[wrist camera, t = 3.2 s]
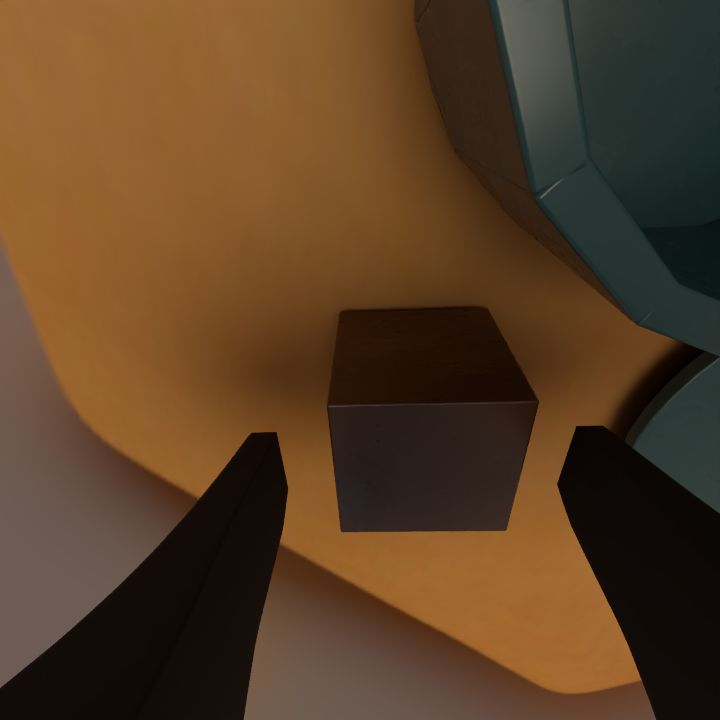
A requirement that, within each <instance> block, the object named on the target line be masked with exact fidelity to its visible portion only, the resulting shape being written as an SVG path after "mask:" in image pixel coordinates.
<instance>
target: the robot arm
mask: <svg viewBox="0 0 720 720" xmlns="http://www.w3.org/2000/svg"><path fill="white" fill-rule="evenodd" d="M557 485H558V488H559V492H560V495H561V498H562V501H563V504H564V507H565V510H566V513H567V515H568V518H569V521H570V524H571V526H572V528H573V531H574V533H575V535H576V537H577V539H578V541H579V543H580V545H581V547H582V550H583V552H584V554H585V556H586V558H587V560H588V562H589V564H590V566H591V568H592V570H593V572H594V574H595V576H596V578H597V580H598V582H599V584H600V586H601V589H602V591H603V593H604V595H605V597H606V599H607V601H608V603H609V605H610V607H611V609H612V611H613V613H614V615H615V617H616V619H617V621H618V623H619V626H620V628H621V630H622V632H623V635H624V637H625V639H626V641H627V644H628V646H629V648H630V651H631V653H632V656H633V659H634V661H635V664H636V666H637V669H638V672H639V674H640V677H641V679H642V682H643V685H644V687H645V690H646V692H647V695H648V698H649V700H650V703H651V706H652V709H653V712H654V714H655V717H656V720H720V513H719V512H717V511H716V510H714V509H713V508H712V507H710V506H709V505H708V504H706V503H705V502H703V501H702V500H701V499H699V498H698V497H697V496H695V495H694V494H692V493H691V492H690V491H688V490H687V489H686V488H684V487H683V486H682V485H680V484H679V483H678V482H676V481H675V480H674V479H673V478H671V477H670V476H669V475H667V474H666V473H665V472H663V471H662V470H661V469H659V468H658V467H657V466H655V465H654V464H653V463H652V462H650V461H649V460H648V459H646V458H645V457H644V456H642V455H641V454H640V453H639V452H637V451H636V450H635V449H633V448H632V447H631V446H629V445H628V444H627V443H626V442H624V441H623V440H622V439H620V438H619V437H618V436H616V435H615V434H614V433H612V432H611V431H609V430H608V429H607V428H605V427H604V426H576V429H575V432H574V435H573V438H572V441H571V444H570V447H569V450H568V453H567V456H566V459H565V462H564V465H563V468H562V471H561V474H560V477H559V480H558V483H557ZM287 494H288V485H287V480H286V475H285V471H284V466H283V461H282V456H281V451H280V447H279V442H278V437H277V432H263V433H251V434H250V435H249V436H248V437H247V439H246V440H245V441H244V443H243V444H242V445H241V447H240V448H239V449H238V451H237V452H236V453H235V455H234V456H233V457H232V459H231V460H230V461H229V463H228V464H227V465H226V467H225V468H224V469H223V470H222V472H221V473H220V474H219V476H218V477H217V478H216V479H215V481H214V482H213V483H212V484H211V486H210V487H209V488H208V489H207V490H206V492H205V493H204V494H203V495H202V497H201V498H200V499H199V500H198V501H197V503H196V504H195V505H194V506H193V507H192V509H191V510H190V511H189V512H188V513H187V514H186V516H185V517H184V518H183V519H182V520H181V521H180V522H179V523H178V525H177V526H176V527H175V528H174V529H173V530H172V531H171V532H170V533H169V535H168V536H167V537H166V538H165V539H164V540H163V541H162V542H161V543H160V545H159V546H158V547H157V548H156V549H155V550H154V551H153V552H152V553H151V554H150V555H149V556H148V557H147V558H146V559H145V560H144V561H143V562H142V563H141V564H140V565H139V567H137V568H136V569H135V570H134V571H133V572H132V573H131V574H130V575H129V576H128V577H127V578H126V579H125V580H124V581H123V582H122V583H121V584H120V585H119V586H118V587H117V588H116V589H115V590H114V591H113V592H112V593H111V594H110V595H108V596H107V597H106V598H105V599H104V600H103V601H102V602H101V603H100V604H99V605H98V606H96V607H95V608H94V609H93V610H92V611H91V612H90V613H89V614H88V615H87V616H86V617H84V618H83V619H82V620H81V621H80V622H79V623H78V624H77V625H76V626H75V627H73V628H72V629H71V630H70V631H69V632H67V634H65V635H64V636H63V637H62V638H61V639H59V640H58V641H57V642H56V643H55V644H53V645H52V646H51V647H50V648H49V649H47V650H46V651H45V652H44V653H43V654H41V655H40V656H39V657H38V658H37V659H35V660H34V661H33V662H32V663H30V664H29V665H28V666H27V667H25V668H24V669H23V670H22V671H21V672H19V673H18V674H17V675H16V676H14V677H13V678H12V679H11V680H10V681H8V682H7V683H6V684H5V685H3V686H2V687H1V688H0V720H243V719H244V713H245V707H246V700H247V693H248V687H249V680H250V673H251V667H252V662H253V655H254V649H255V644H256V639H257V634H258V629H259V625H260V620H261V616H262V612H263V608H264V604H265V600H266V596H267V592H268V588H269V584H270V580H271V575H272V572H273V568H274V564H275V560H276V555H277V551H278V547H279V543H280V539H281V535H282V531H283V525H284V518H285V510H286V502H287Z"/></svg>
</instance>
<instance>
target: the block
mask: <svg viewBox="0 0 720 720" xmlns="http://www.w3.org/2000/svg"><path fill="white" fill-rule="evenodd" d="M538 404H539V400H538V398H537V397H536V395H535V393H534V391H533V389H532V388H531V386H530V384H529V382H528V380H527V379H526V377H525V375H524V373H523V371H522V370H521V368H520V366H519V364H518V362H517V361H516V359H515V357H514V355H513V354H512V352H511V350H510V348H509V346H508V345H507V343H506V341H505V339H504V337H503V336H502V334H501V332H500V330H499V328H498V327H497V325H496V323H495V321H494V319H493V318H492V316H491V314H490V312H489V310H488V309H487V308H476V309H442V310H408V311H374V312H341V313H340V314H339V321H338V329H337V336H336V343H335V351H334V358H333V365H332V372H331V380H330V387H329V394H328V402H327V411H328V420H329V429H330V438H331V447H332V456H333V465H334V474H335V483H336V492H337V501H338V510H339V519H340V528H341V531H342V532H410V531H505V530H507V526H508V522H509V518H510V514H511V510H512V506H513V502H514V498H515V494H516V491H517V487H518V483H519V479H520V475H521V471H522V467H523V463H524V459H525V455H526V451H527V447H528V443H529V440H530V436H531V432H532V428H533V424H534V420H535V416H536V412H537V408H538Z"/></svg>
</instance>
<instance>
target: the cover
mask: <svg viewBox="0 0 720 720" xmlns="http://www.w3.org/2000/svg"><path fill="white" fill-rule="evenodd" d="M624 442H626V443H627V444H628V445H629V446H631V447H632V448H633V449H635V450H636V451H637V452H639V453H640V454H641V455H642V456H644V457H645V458H646V459H648V460H649V461H650V462H652V463H653V464H654V465H655V466H657V467H658V468H659V469H661V470H662V471H663V472H665V473H666V474H667V475H669V476H670V477H671V478H673V479H674V480H675V481H676V482H678V483H679V484H680V485H682V486H683V487H684V488H686V489H687V490H688V491H690V492H691V493H692V494H694V495H695V496H697V497H698V498H699V499H701V500H702V501H703V502H705V503H706V504H708V505H709V506H710V507H712V508H713V509H714V510H716V511H717V512H719V513H720V356H717V355H714V354H712V353H709V352H706V351H705V352H704V353H702V354H701V355H700V356H698V357H697V358H696V359H695V360H693V361H692V362H691V363H689V364H688V365H687V366H686V367H685V368H684V369H682V370H681V371H680V372H679V373H678V374H677V375H676V376H675V377H674V378H673V379H672V380H671V381H670V382H668V383H667V384H666V385H665V386H664V387H663V388H662V389H661V390H660V392H659V393H658V394H657V395H656V396H655V397H654V398H653V399H652V401H651V402H650V403H649V404H648V405H647V406H646V407H645V409H644V410H643V412H642V413H641V414H640V416H639V417H638V419H637V420H636V421H635V423H634V424H633V426H632V427H631V429H630V431H629V433H628V435H627V437H626V438H625V440H624Z"/></svg>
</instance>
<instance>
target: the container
mask: <svg viewBox="0 0 720 720" xmlns="http://www.w3.org/2000/svg"><path fill="white" fill-rule="evenodd" d="M415 22H417V24H416V28H417V32H418V35H419V38H420V42H421V45H422V49H423V53H424V57H425V61H426V65H427V69H428V74H429V78H430V82H431V86H432V90H433V93H434V96H435V98H436V101H437V104H438V106H439V109H440V112H441V114H442V117H443V120H444V122H445V125H446V127H447V131H448V134H449V137H450V141H451V144H452V146H453V147H454V150H455V152H456V153H457V154H458V155H459V156H460V158H461V159H462V160H463V161H464V162H465V163H466V165H467V166H468V167H469V168H470V169H471V170H472V172H473V173H474V174H475V175H476V177H477V178H478V179H479V181H480V182H481V183H482V185H483V186H484V187H485V188H486V189H487V190H488V191H489V192H490V193H491V194H492V195H493V196H494V197H495V198H496V200H497V201H498V202H499V203H500V204H501V205H502V207H503V208H504V209H505V210H506V211H507V212H508V213H509V215H510V216H511V217H512V218H513V219H514V220H515V222H517V223H518V224H519V225H520V226H521V227H522V228H524V229H525V230H526V231H527V232H528V233H529V234H531V235H532V236H533V237H534V238H535V239H536V240H538V241H539V242H540V243H541V244H542V245H543V246H545V247H546V248H547V249H548V250H549V251H551V252H552V253H553V254H554V255H555V256H556V257H558V258H559V259H560V260H561V261H562V262H563V263H565V264H566V265H567V266H568V267H569V268H570V269H572V270H573V271H574V272H575V273H576V274H577V275H579V276H580V277H581V278H582V279H583V280H584V281H586V282H587V283H588V284H589V285H590V286H591V287H593V288H594V289H595V290H596V291H597V292H599V293H600V294H601V295H602V296H603V297H604V298H606V299H607V300H608V301H609V302H610V303H611V304H613V305H614V306H615V307H616V308H617V309H618V310H620V311H621V312H622V313H623V314H624V315H625V316H627V317H628V318H629V319H630V320H632V321H633V322H634V323H636V324H637V325H638V326H641V327H643V328H646V329H649V330H651V331H654V332H656V333H659V334H662V335H664V336H667V337H670V338H672V339H675V340H677V341H680V342H683V343H685V344H688V345H691V346H693V347H696V348H698V349H701V350H704V351H706V352H709V353H712V354H714V355H717V356H720V0H415Z"/></svg>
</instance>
